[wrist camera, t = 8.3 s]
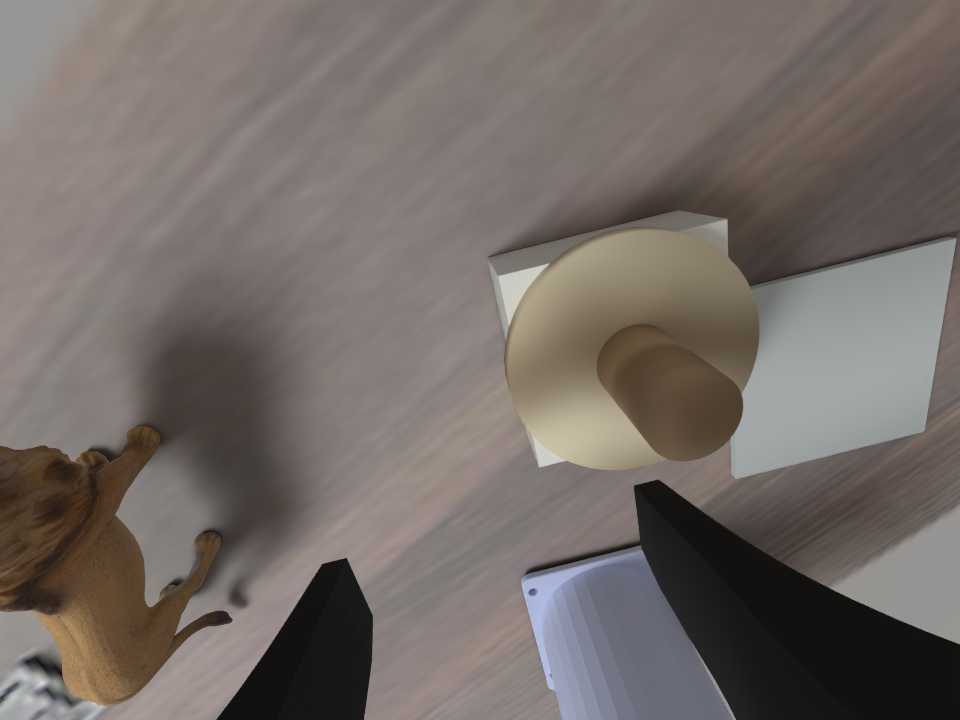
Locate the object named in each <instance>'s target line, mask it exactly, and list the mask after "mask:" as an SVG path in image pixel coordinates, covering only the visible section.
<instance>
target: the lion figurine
mask: <svg viewBox="0 0 960 720" xmlns="http://www.w3.org/2000/svg"><path fill="white" fill-rule="evenodd" d="M127 438H128V441H129V442H128V444H127V445H126V446H125V448H124V451H123V454H122V456H120V457H118V458H116V459H114V460H113V461H111V462H109V461H108V459H107V458H106V457H105V456H104V455H103V454H101V453H100V452H98V451H86V452H83V453H82V454H81V455H80V457H79V458H77V459H76V462H71V461H70V459H69V457H68V455H66V454H64V453H62V452H61V450H59V449H56V448H48V447H47V446H38V447H35V448H30V449H26V450H13V449H10V448H8V447H3V446H0V611H4V612H13V611H28V610H32V611H33V612H34V613H35V614H36V615H37V617H38V618H39V619H40V620H41V621H42V622H43V624H44V625H45V626H46V627H47V629H48V630H49V631H50V633H51V634H52V636H53V638H54V639H55V641H56V643H57V645H58V647H59V650H60V653H61V659H62V673H63V680H64V682H65V684H66V686H67V688H68V689H69V691H70V692H72V693H73V694H74V695H76V696H77V697H79V698H82V699H84V700H87V701H93V702H95V703H97V704H99V705H103V706H113V705H117V704H120V703H122V702H125V701H127V700H129V699H130V698H132V697H133V696H135V695H136V694H137V693H138V692H139V691H140V690H141V689H142V688H143V687H144V686H145V685H146V684H147V683H148V682H149V681H150V680H151V679H152V678H153V677H154V676H155V674H156V673H157V672H158V671H159V670H160V668H161V667H162V666H163V665H164V664H165V662H166V661H167V660H168V659H169V658H170V657H171V655H172V654H173V653H174V652H175V651H176V650H177V649H178V648H179V647H180V646H181V644H182V643H183V642H184V641H185V640H186V639H187V638H188V637H190V636H191V635H192V634H194V633H195V632H197V631H199V630H200V629H202V628H204V627H207V626H219V625H223V624H228V623H231V622H232V619H231V617H230V616H229V615H228V613H227V612H225V611H215V612H211V613H208V614H205V615H203V616H202V617H200V618H198V619H197V620H195V621H193V622H192V623H190V624H189V625H187V626H186V627H185V628H184V629H182V630H181V631H180V632H179V633H178V634H177V635H175V633H176V630H177V627H178V624H179V621H180V618H181V615H182V613H183V611H184V609H185V608H186V605H187V603H188V601H189V600H190V598H191V597H192V595H193V594H194V593H195V592H197V591H198V590H199V589H200V587H201V586H202V584H203V582H204V580H205V577H206V575H207V572H208V570H209V568H210V565H211V563H212V562H213V560H214V558H215V557H216V555H217V553H218V551H219V549H220V546H221V538H220V536H218V535H217V534H215V533H213V532H208V533H203V534H200V535H198V536H197V537H196V539H195V541H194V549H195V553H196V559H195V562H194V565H193V567H192V570H191V572H190V573H189V575H188V576H187V577H186V579H185V580H184V581H183V582H182V583H181V584H180V585H179V586H176V585H168V586H166V587H165V588H164V589H162V591H161V593H160V596H159V602H158V603H157V604H155V605H154V606H153V607H148V606H147V604H146V602H145V597H144V592H145V569H144V559H143V556H142V553H141V550H140V547H139V545H138V543H137V541H136V539H135V537H134V536H133V534H132V533H131V532H130V530H129V529H128V528H127V527H126V526H125V525H124V523H123V522H122V521H121V520H120V519H119V518H118V517H117V516H115V514H116V512H117V510H118V508H119V506H120V503H121V501H122V499H123V497H124V495H125V493H126V491H127V490H128V488H129V487H130V485H131V484H132V482H133V481H134V479H135V478H136V476H137V475H138V474H139V472H140V471H141V470H142V468H143V467H144V466H145V464H146V463H147V462H148V461H149V460H150V459H151V457H152V456H153V454H154V453H155V451H156V449H157V447H158V445H159V443H160V435H159V433H158V432H157V431H156V430H154V429H153V428H151V427H148V426H138V427H136V428H135V429H132V430H130V431H128V433H127Z"/></svg>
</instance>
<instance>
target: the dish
mask: <svg viewBox="0 0 960 720" xmlns="http://www.w3.org/2000/svg"><path fill="white" fill-rule="evenodd" d="M629 227H655V228H661V229H667V230H672V231H675V232H679V233H683V234H686V235H689V236H692V237H695V238H698V239H701V240H703V241H705V242H706V243H708V244H710V245H712V246H714V247H716V248H717V249H718V250H720V251H721V252H722V253H724V254H725V255H726V256H728V226H727V219H724V218H718V217H713V216H707V215H702V214H696V213H690V212H685V211H679V210H677V211H673V212H669V213H665V214H661V215H657V216H653V217H649V218H644V219H640V220H636V221H632V222H628V223H624V224H620V225H616V226H612V227H608V228H604V229H600V230H596V231H592V232H588V233H584V234H580V235H576V236H572V237H568V238H564V239H560V240H556V241H552V242H548V243H544V244H540V245H536V246H532V247H528V248H524V249H520V250H516V251H512V252H508V253H504V254H500V255H496V256H492V257H488V258H487V261H488V266H489V270H490V275H491V279H492V284H493V288H494V293H495V298H496V302H497V307H498V311H499V316H500V320H501V325H502V329H503V334H504V338H505V343H506V338H507V333H508V328H509V326H510V323H511V320H512V317H513V314H514V312H515V310H516V308H517V306H518V304H519V302H520V300H521V298H522V296H523V295H524V293H525V292H526V290H527V289H528V287H529V286H530V284H531V283H532V282H533V280H534V279H535V278H536V277H537V276H538V275H539V274H540V272H541V271H542V270H543V269H544V268H545V267H546V266H547V265H549V264H550V263H551V262H552V261H553V260H554V259H555V258H556V257H558V256H559V255H561V254H562V253H563V252H565V251H566V250H568V249H569V248H571V247H572V246H574V245H576V244H578V243H580V242H582V241H584V240H585V239H588V238H590V237H593V236H596V235H598V234H601V233H604V232H608V231H612V230H616V229H620V228H629ZM523 424H524V423H523ZM524 427H525V425H524ZM525 430H526V432H527V435H528V438H529V440H530V443H531V446H532V449H533V451H534V454H535V457H536V460H537V462H538V465H539V467H543V466H547V465H551V464H555V463H559V462H563V461H567V460H565V459H563V458H561V457H559V456H557V455H555V454H554V453H552V452H551V451H549V450H548V449H547V448H545V447H544V446H543V445H542V444H541V443H540V442H538V441H537V440H536V439H535V438H534V437H533V435H532V434H531V433H530V432H529V430H528V429H527V428H526V427H525Z"/></svg>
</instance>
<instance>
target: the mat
mask: <svg viewBox="0 0 960 720" xmlns="http://www.w3.org/2000/svg"><path fill="white" fill-rule="evenodd" d="M956 239H957V238H952V237H945V238H941V239H937V240H933V241H929V242H925V243H921V244H917V245H913V246H909V247H905V248H901V249H897V250H893V251H889V252H885V253H881V254H877V255H873V256H869V257H865V258H861V259H857V260H853V261H849V262H845V263H841V264H837V265H833V266H829V267H825V268H821V269H817V270H813V271H809V272H805V273H801V274H797V275H793V276H789V277H785V278H781V279H777V280H773V281H769V282H765V283H761V284H757V285H753V286H750V288H751V290H752V293H753V295H754V298H755V302H756V305H757V309H758V316H759V324H760V325H759V345H758V352H757V357H756V361H755V364H754V368H753V371H752V373H751V376H750V378H749V381H748V383H747V385H746V387H745V389H744V391H743V393H742V397H743V414H742V418H741V421H740V424H739V426H738V428H737V429H736V431H735V433H734V434H733V435H732V437H731V475H732V476H733V477H734V478H735V479H738V478H742V477H746V476H750V475H754V474H758V473H762V472H766V471H770V470H774V469H778V468H782V467H786V466H790V465H794V464H798V463H802V462H806V461H810V460H814V459H818V458H822V457H826V456H830V455H834V454H838V453H842V452H846V451H849V450H853V449H857V448H861V447H865V446H869V445H873V444H877V443H881V442H885V441H889V440H893V439H897V438H901V437H905V436H909V435H913V434H917V433H921V432H924V431H925V425H926V419H927V413H928V407H929V401H930V395H931V389H932V383H933V377H934V371H935V365H936V359H937V353H938V347H939V341H940V335H941V329H942V323H943V317H944V311H945V305H946V299H947V293H948V287H949V281H950V275H951V269H952V263H953V257H954V251H955V245H956Z"/></svg>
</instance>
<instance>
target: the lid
mask: <svg viewBox="0 0 960 720" xmlns="http://www.w3.org/2000/svg"><path fill="white" fill-rule="evenodd" d="M759 325H760V324H759V316H758V309H757V305H756V302H755V298H754V295H753V293H752V290H751V288H750V286H749V284H748V282H747V280H746V278H745V277H744V275H743V274H742V273H741V271H740V270H739V268H738V267H737V266H736V265H735V264H734V263H733V262H732V261H731V260H730V259H729V258H728V256H726V255H725V254H724V253H722V252H721V251H720V250H718V249H717V248H716V247H714V246H712V245H710V244H708V243H706V242H705V241H703V240H701V239H698V238H695V237H692V236H689V235H686V234H683V233H679V232H675V231H672V230H667V229H661V228H655V227H629V228H620V229H616V230H612V231H608V232H604V233H601V234H598V235H596V236H593V237H590V238H588V239H585V240H584V241H582V242H580V243H578V244H576V245H574V246H572V247H571V248H569V249H568V250H566V251H565V252H563V253H562V254H561V255H559V256H558V257H556V258H555V259H554V260H553V261H552V262H551V263H550V264H549V265H547V266H546V267H545V268H544V269H543V270H542V271H541V272H540V274H539V275H538V276H537V277H536V278H535V279H534V280H533V282H532V283H531V284H530V286H529V287H528V289H527V290H526V292H525V293H524V295H523V296H522V298H521V300H520V302H519V304H518V306H517V308H516V310H515V312H514V314H513V317H512V320H511V323H510V326H509V328H508V333H507V338H506V343H505V357H504V361H505V374H506V379H507V383H508V388H509V391H510V393H511V396H512V399H513V402H514V404H515V407H516V409H517V412H518V414H519V416H520V418H521V420H522V421H523V423H524V425H525V427H526V428H527V429H528V430H529V432H530V433H531V434H532V435H533V437H534V438H535V439H536V440H537V441H538V442H540V443H541V444H542V445H543V446H544V447H545V448H547V449H548V450H549V451H551V452H552V453H554V454H555V455H557V456H559V457H561V458H563V459H565V460H567V461H569V462H572V463H575V464H577V465H580V466H584V467H589V468H594V469H603V470H626V469H633V468H640V467H644V466H648V465H652V464H655V463H658V462H661V461H663V460H666V459H670V460H674V461H691V460H696V459H700V458H702V457H705V456H707V455H709V454H711V453H713V452H715V451H716V450H718V449H719V448H721V447H722V446H723V445H724V444H725V443H726V442H727V441H728V440H729V439H730V438H731V437H732V435H733V434H734V433H735V431H736V429H737V428H738V426H739V424H740V421H741V418H742V414H743V397H742V393H743V391H744V389H745V387H746V385H747V383H748V381H749V378H750V376H751V373H752V371H753V368H754V364H755V361H756V357H757V352H758V345H759Z"/></svg>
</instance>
